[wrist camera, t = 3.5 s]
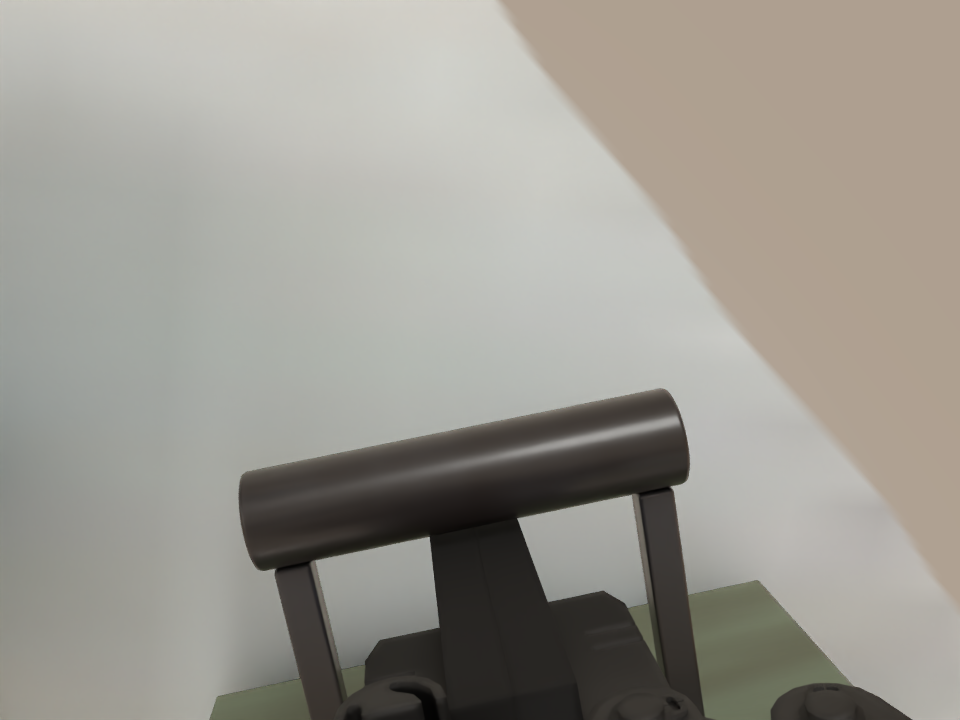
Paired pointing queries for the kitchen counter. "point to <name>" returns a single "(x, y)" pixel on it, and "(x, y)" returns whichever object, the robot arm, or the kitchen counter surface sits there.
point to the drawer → (505, 496)
